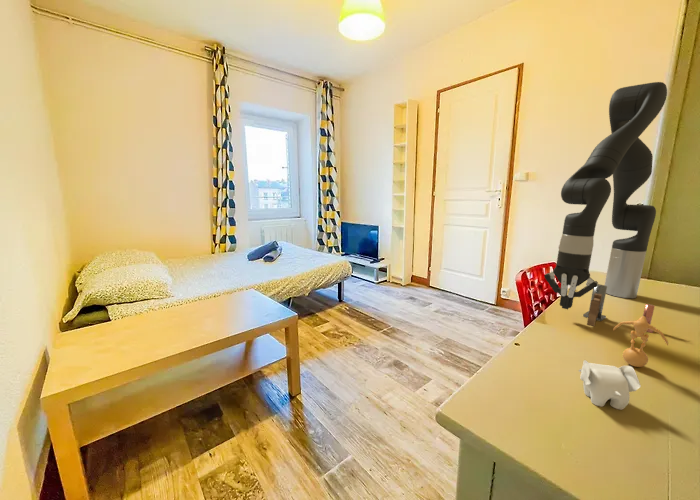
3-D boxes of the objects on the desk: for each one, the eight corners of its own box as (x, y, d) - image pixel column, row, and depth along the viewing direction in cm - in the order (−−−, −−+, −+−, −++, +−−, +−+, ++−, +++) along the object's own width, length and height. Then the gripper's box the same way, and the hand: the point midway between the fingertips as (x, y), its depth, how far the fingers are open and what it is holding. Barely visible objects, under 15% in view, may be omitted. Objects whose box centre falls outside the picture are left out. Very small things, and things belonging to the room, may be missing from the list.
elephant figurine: (608, 384, 57) (615, 351, 56) (643, 421, 48) (653, 382, 47) (564, 378, 59) (569, 345, 58) (589, 412, 50) (597, 374, 48)
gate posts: (589, 311, 93) (595, 281, 91) (655, 329, 81) (663, 295, 79) (583, 316, 89) (588, 284, 87) (650, 335, 78) (658, 299, 76)
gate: (590, 315, 87) (594, 293, 86) (597, 316, 86) (601, 294, 85) (586, 324, 81) (591, 301, 80) (594, 326, 80) (598, 302, 79)
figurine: (661, 371, 62) (674, 318, 59) (658, 382, 58) (672, 326, 56) (610, 354, 68) (620, 305, 66) (604, 363, 64) (615, 312, 62)
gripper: (606, 252, 81) (595, 311, 84) (550, 245, 90) (542, 299, 93) (604, 256, 76) (592, 318, 79) (544, 249, 85) (536, 305, 88)
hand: (565, 308), depth 86 cm, fingers closed
